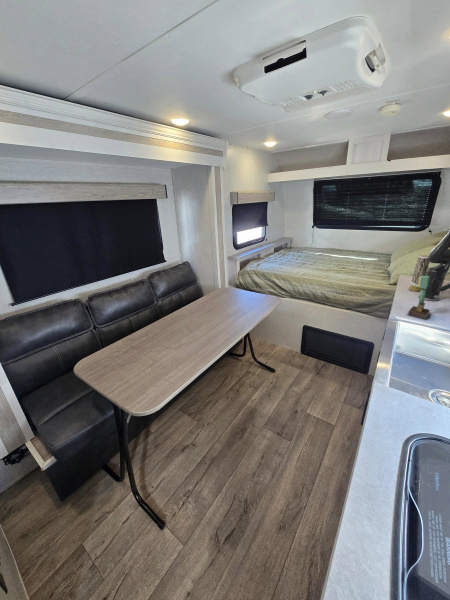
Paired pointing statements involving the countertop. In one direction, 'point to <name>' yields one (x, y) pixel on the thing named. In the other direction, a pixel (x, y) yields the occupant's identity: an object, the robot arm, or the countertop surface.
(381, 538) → the countertop surface
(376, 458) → the countertop surface
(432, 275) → the robot arm
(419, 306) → the brush stand
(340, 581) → the countertop surface
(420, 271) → the bark textured cylinder
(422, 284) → the brush
